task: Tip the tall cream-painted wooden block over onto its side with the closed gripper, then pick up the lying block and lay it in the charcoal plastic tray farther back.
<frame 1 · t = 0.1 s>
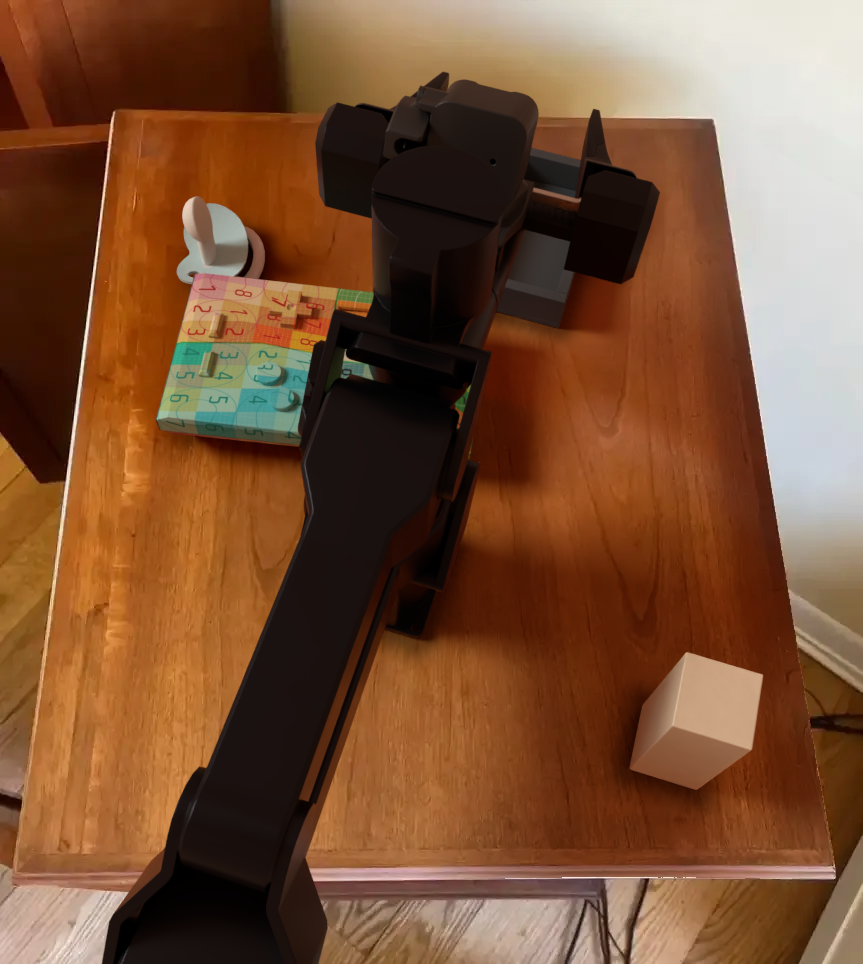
hand: (520, 96, 60), 17 cm above the table, tool horizontal, fingers open, 9 cm apart
tray: (530, 246, 77), on the table
block: (669, 746, 59), on the table
puzzle game: (330, 392, 70), on the table
pacifier: (225, 266, 75), on the table
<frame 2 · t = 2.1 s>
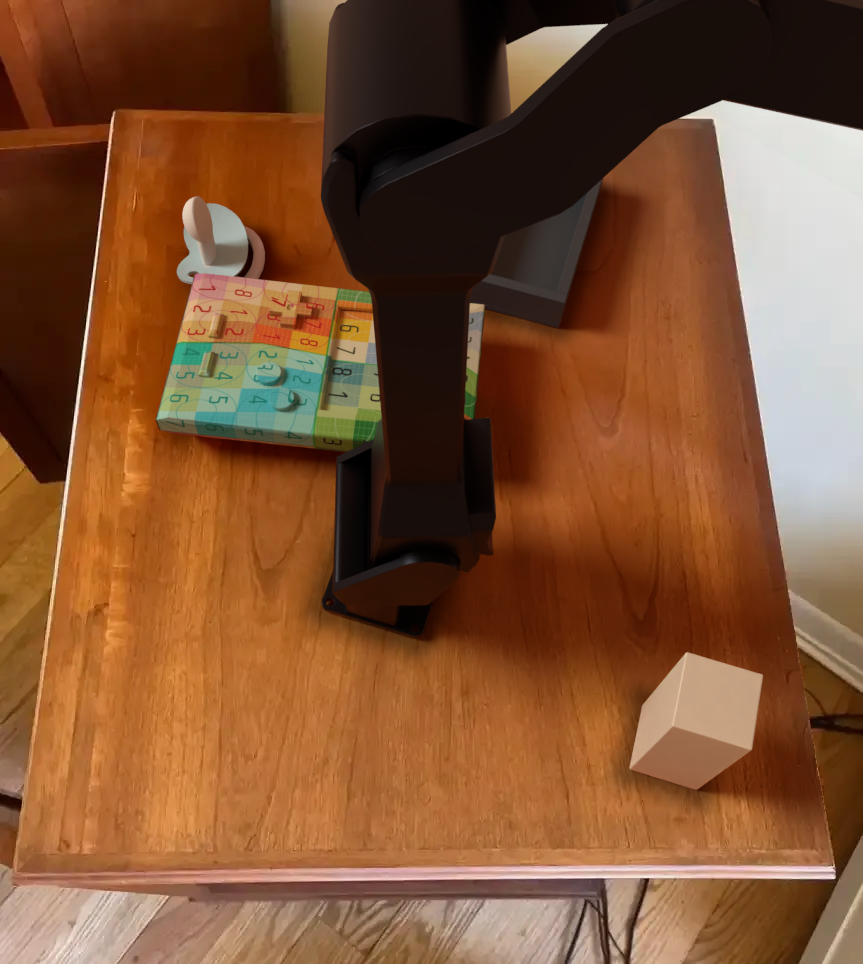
nothing on the table moved.
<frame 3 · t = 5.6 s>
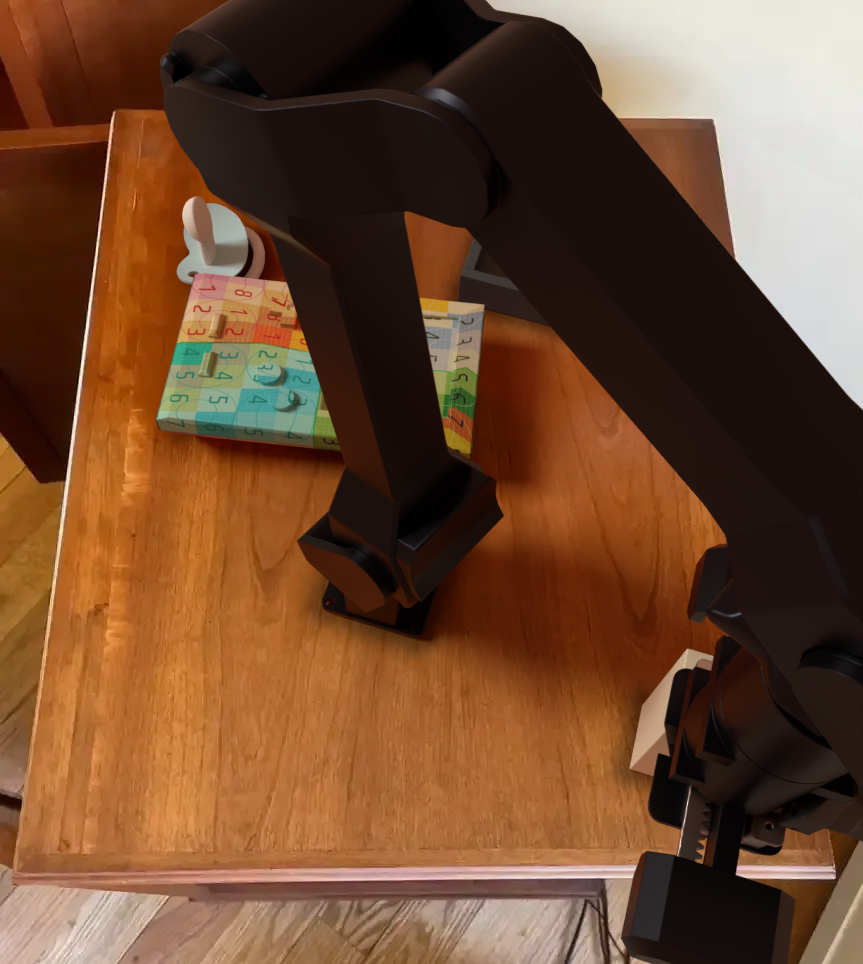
hand: (685, 788, 52), 7 cm above the table, tool pointing down, fingers closed
block: (669, 746, 59), on the table, touching gripper
everything else where it was.
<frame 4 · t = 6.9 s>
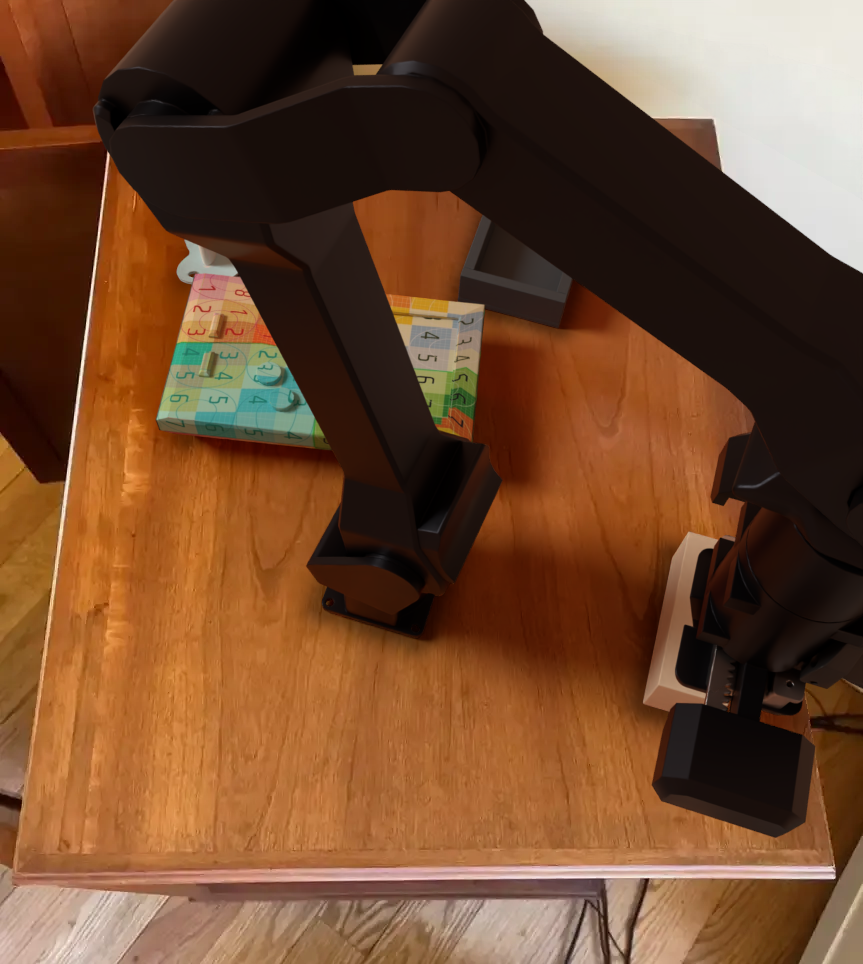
hand: (707, 671, 55), 6 cm above the table, tool pointing down, fingers closed
block: (683, 704, 59), point 2 cm above the table, tilted 90°
everything else where it was.
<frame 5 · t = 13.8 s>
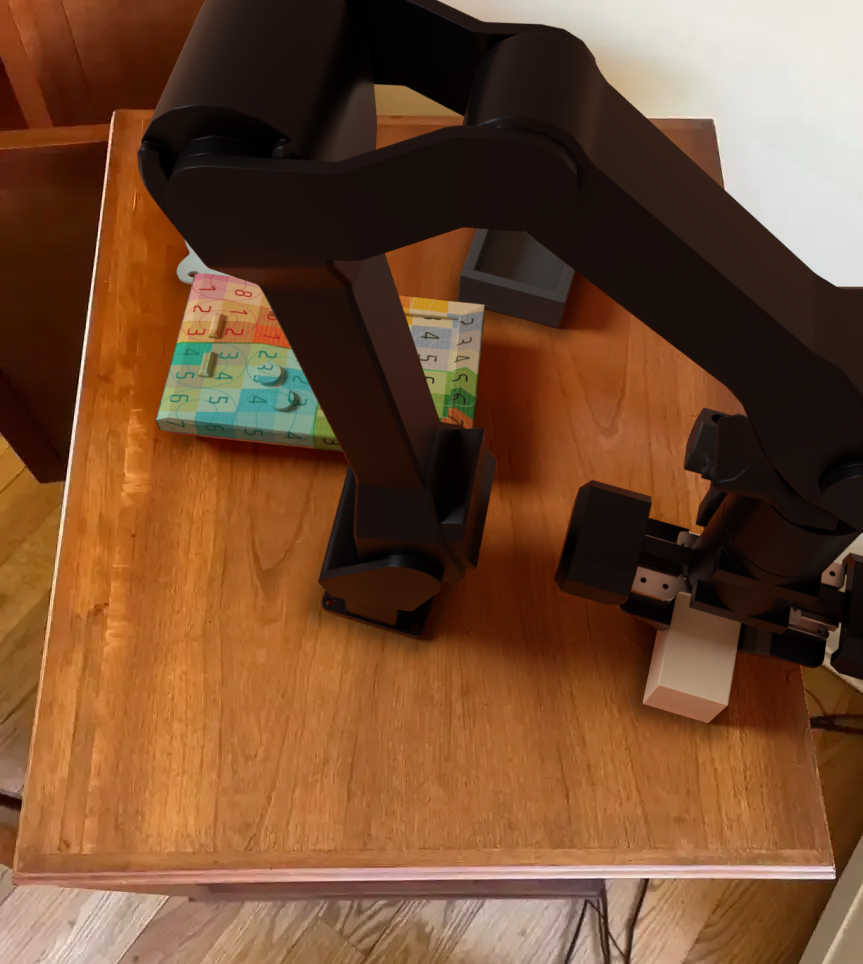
hand: (694, 632, 62), 1 cm above the table, tool pointing down, fingers closed on block, 4 cm apart
block: (683, 704, 59), point 2 cm above the table, tilted 90°, touching gripper
everything else where it was.
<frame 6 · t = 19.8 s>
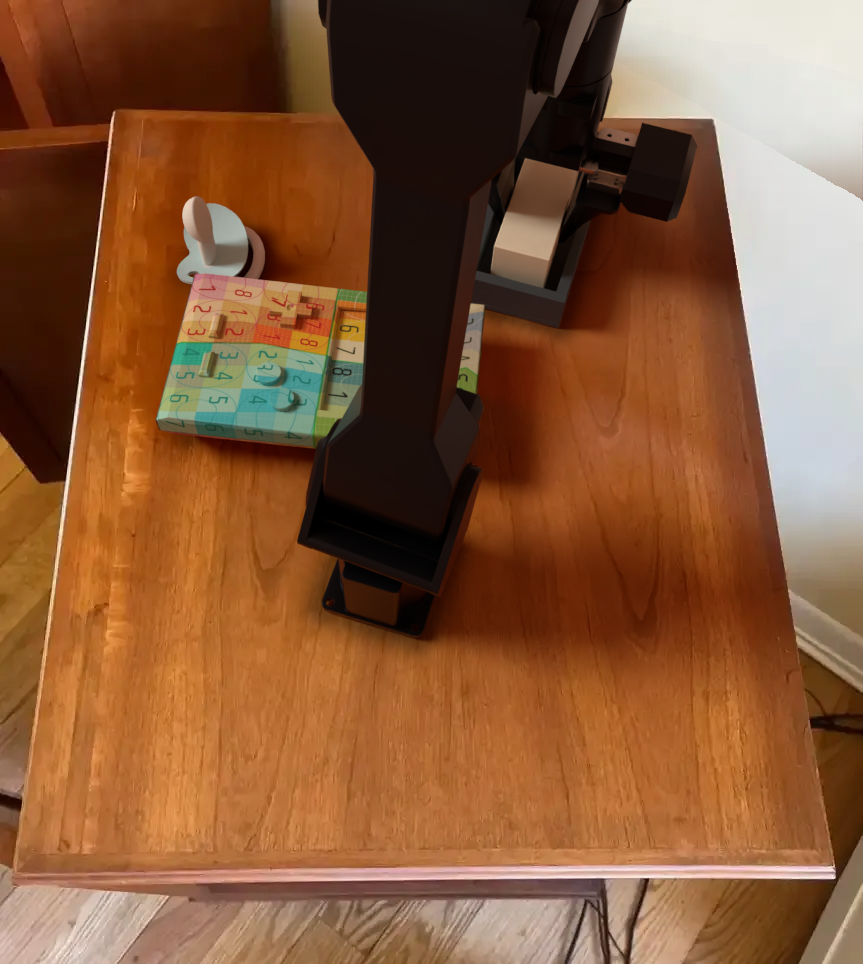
hand: (533, 231, 75), 2 cm above the table, tool pointing down, fingers closed on block, 4 cm apart
block: (518, 272, 72), point 3 cm above the table, tilted 90°, touching gripper
everything else where it was.
when the fingers open (3 cm above the table, at t = 24.8 s): block stays where it is, resting on tray.
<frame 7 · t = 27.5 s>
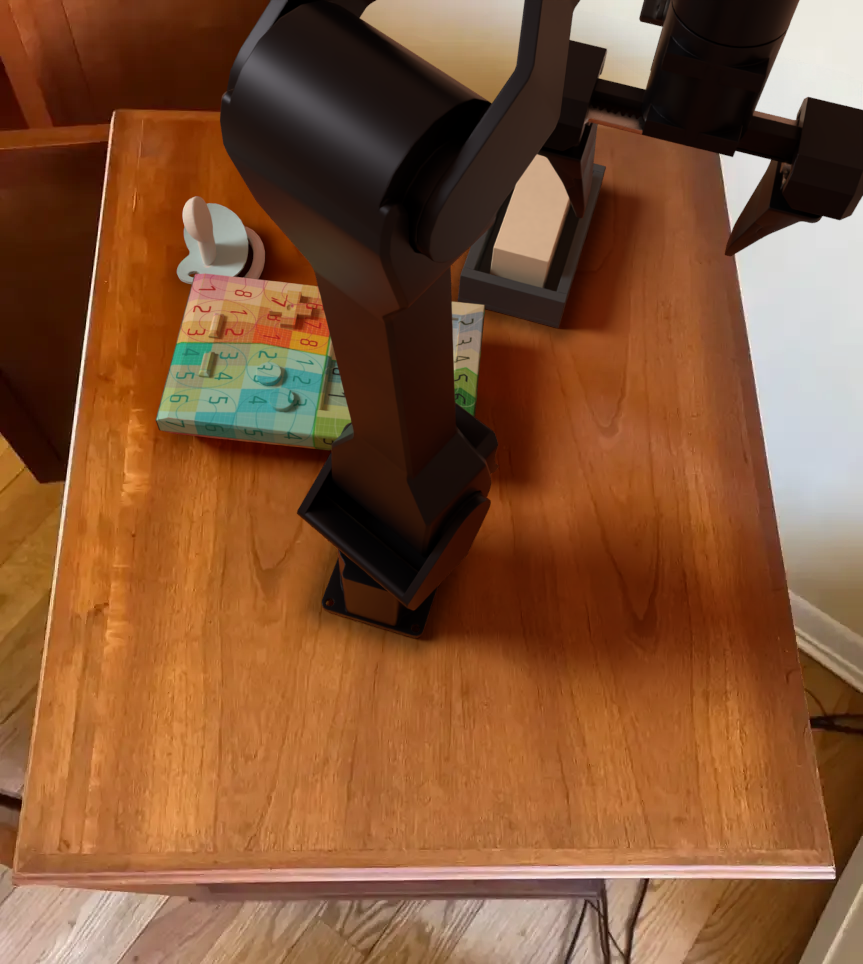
hand: (654, 231, 62), 12 cm above the table, tool pointing down, fingers open, 9 cm apart
block: (517, 273, 72), point 2 cm above the table, tilted 90°, touching tray
everything else where it was.
at the end: block tilted 90°; block inside the target area in the tray (4.9 cm from its centre), point 2.5 cm above the tray's base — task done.
